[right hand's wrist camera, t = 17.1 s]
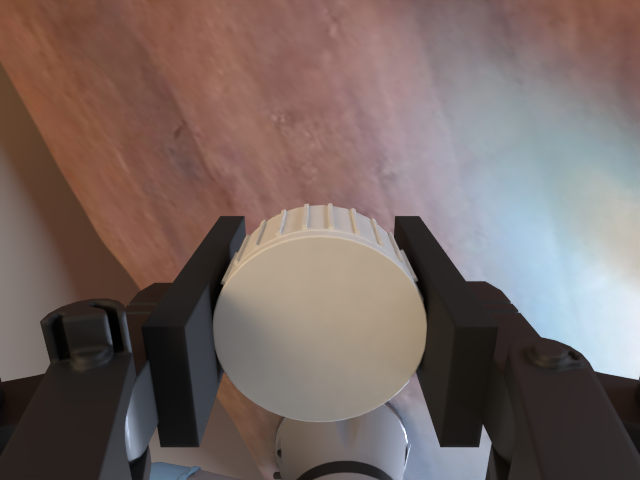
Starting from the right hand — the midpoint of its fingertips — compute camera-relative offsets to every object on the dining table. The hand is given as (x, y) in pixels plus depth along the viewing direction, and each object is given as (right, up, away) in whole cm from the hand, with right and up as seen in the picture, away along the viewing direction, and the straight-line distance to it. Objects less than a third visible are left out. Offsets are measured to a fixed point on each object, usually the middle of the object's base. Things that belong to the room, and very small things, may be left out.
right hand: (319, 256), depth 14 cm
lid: (0, -2, -4) cm, 4 cm away
